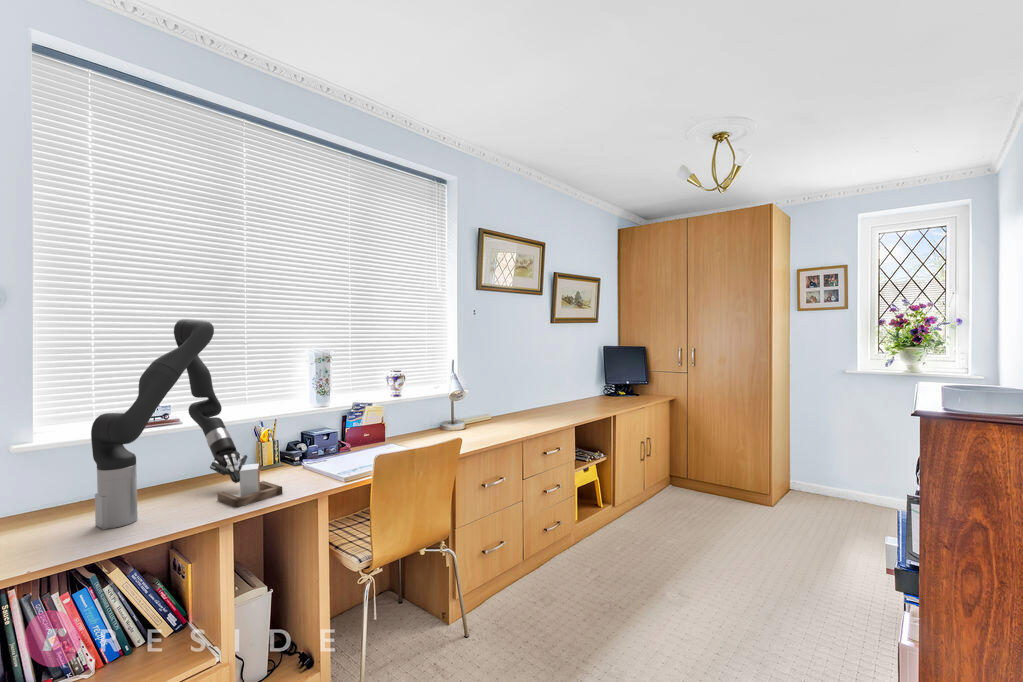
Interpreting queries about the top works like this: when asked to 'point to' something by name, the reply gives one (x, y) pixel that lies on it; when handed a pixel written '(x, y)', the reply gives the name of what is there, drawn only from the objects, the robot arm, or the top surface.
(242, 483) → the small box
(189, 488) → the top surface
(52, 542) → the top surface
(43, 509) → the top surface
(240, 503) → the walnut bay
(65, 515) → the top surface
